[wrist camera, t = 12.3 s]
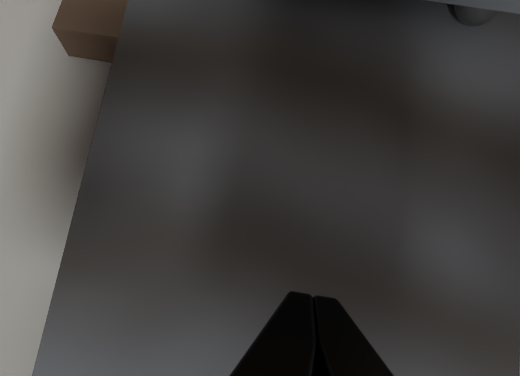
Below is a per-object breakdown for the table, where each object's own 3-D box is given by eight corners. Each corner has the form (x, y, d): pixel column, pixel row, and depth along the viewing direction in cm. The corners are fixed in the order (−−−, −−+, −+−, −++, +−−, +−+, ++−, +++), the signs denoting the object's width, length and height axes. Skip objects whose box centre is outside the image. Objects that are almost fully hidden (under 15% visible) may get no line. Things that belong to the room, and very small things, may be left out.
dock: (582, 619, 13) (942, 906, 6) (-72, 500, 13) (-387, 646, 7) (531, -110, 23) (648, -299, 16) (158, -160, 23) (122, -363, 17)
